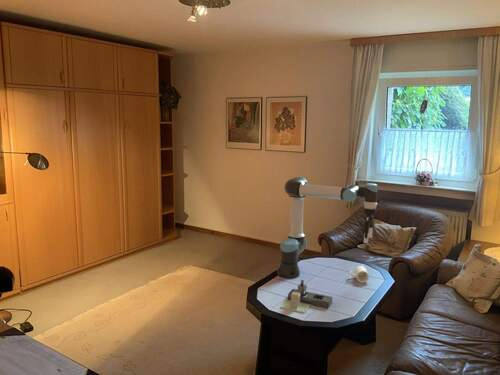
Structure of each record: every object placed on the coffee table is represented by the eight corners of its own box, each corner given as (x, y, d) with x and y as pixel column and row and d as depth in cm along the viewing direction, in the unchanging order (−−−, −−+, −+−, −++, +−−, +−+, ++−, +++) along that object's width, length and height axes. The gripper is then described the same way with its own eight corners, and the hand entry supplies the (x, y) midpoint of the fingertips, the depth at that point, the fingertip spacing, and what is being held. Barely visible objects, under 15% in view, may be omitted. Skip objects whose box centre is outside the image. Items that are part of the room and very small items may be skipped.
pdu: (287, 300, 236) (288, 280, 234) (292, 295, 243) (293, 276, 241) (328, 309, 225) (329, 288, 223) (332, 303, 232) (333, 283, 230)
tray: (280, 308, 225) (280, 306, 225) (286, 301, 234) (286, 299, 234) (304, 314, 219) (304, 312, 219) (310, 306, 228) (310, 304, 228)
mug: (365, 277, 272) (366, 265, 271) (368, 283, 263) (369, 271, 261) (347, 276, 274) (348, 264, 272) (349, 282, 264) (350, 270, 262)
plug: (290, 307, 225) (290, 294, 224) (293, 304, 229) (293, 291, 228) (297, 309, 224) (298, 295, 222) (299, 306, 227) (300, 292, 226)
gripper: (372, 212, 245) (370, 246, 248) (379, 204, 267) (377, 236, 270) (360, 211, 248) (357, 244, 252) (367, 203, 270) (365, 234, 274)
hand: (367, 240), depth 261 cm, fingers open, 13 cm apart
